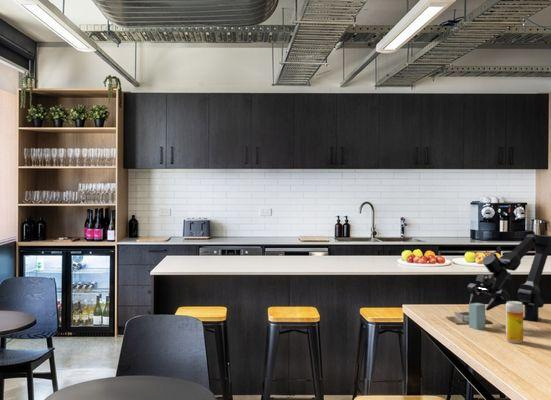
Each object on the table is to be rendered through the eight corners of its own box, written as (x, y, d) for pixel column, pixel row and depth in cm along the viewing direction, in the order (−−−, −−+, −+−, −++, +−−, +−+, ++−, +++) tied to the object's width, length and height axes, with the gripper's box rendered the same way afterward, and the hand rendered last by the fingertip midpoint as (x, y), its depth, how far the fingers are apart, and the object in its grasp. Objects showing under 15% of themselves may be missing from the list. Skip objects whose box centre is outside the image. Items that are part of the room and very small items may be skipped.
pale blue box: (479, 325, 225) (479, 302, 225) (487, 327, 222) (487, 304, 221) (469, 327, 223) (469, 303, 222) (476, 329, 219) (476, 305, 219)
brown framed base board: (479, 317, 241) (479, 310, 241) (492, 323, 229) (492, 316, 229) (445, 318, 239) (445, 311, 239) (457, 324, 227) (457, 317, 227)
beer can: (525, 344, 198) (525, 304, 197) (507, 343, 199) (507, 303, 199) (520, 339, 203) (520, 301, 203) (504, 338, 205) (504, 300, 205)
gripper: (470, 264, 233) (451, 291, 228) (505, 270, 216) (485, 299, 211) (483, 281, 236) (465, 308, 231) (518, 288, 219) (499, 317, 214)
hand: (477, 307), depth 222 cm, fingers open, 9 cm apart
